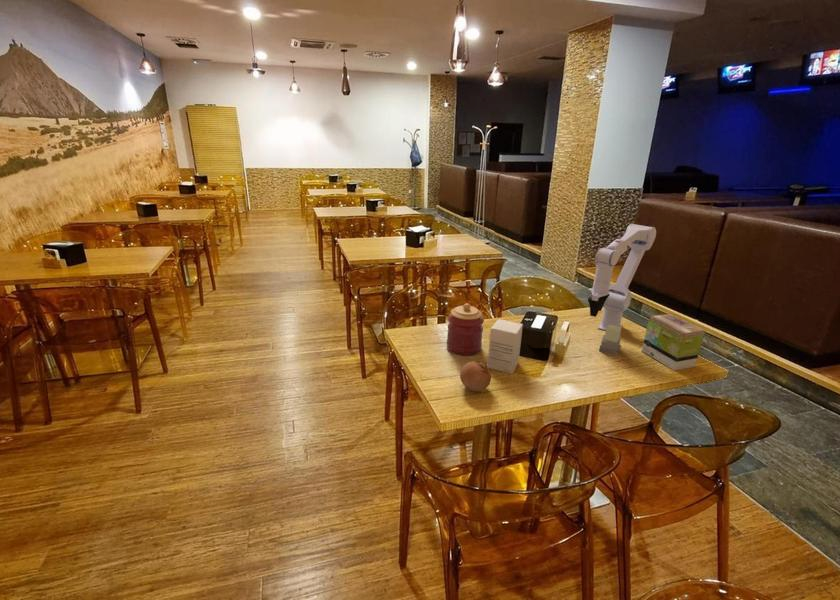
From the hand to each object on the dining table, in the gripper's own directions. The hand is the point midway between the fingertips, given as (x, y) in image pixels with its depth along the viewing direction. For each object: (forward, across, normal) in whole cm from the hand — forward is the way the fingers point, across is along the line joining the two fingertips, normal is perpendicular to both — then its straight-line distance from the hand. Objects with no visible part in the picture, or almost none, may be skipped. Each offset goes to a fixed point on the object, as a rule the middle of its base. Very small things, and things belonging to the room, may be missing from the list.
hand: (595, 313), depth 165 cm
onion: (+12, +62, -20) cm, 66 cm away
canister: (+11, +40, -36) cm, 55 cm away
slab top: (+8, +8, +8) cm, 14 cm away
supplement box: (+11, +42, -19) cm, 48 cm away
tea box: (+11, +2, +27) cm, 29 cm away
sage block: (+6, +7, +8) cm, 13 cm away
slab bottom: (+11, +7, +9) cm, 16 cm away
